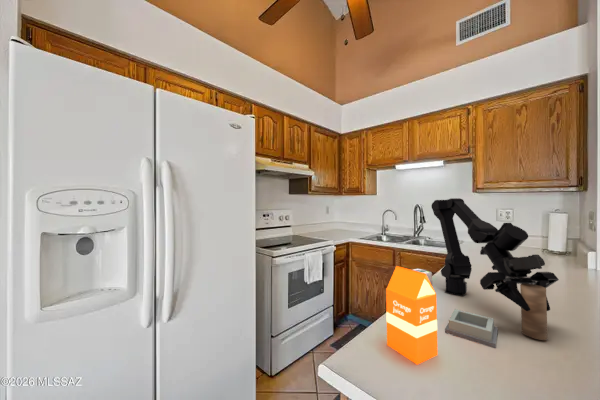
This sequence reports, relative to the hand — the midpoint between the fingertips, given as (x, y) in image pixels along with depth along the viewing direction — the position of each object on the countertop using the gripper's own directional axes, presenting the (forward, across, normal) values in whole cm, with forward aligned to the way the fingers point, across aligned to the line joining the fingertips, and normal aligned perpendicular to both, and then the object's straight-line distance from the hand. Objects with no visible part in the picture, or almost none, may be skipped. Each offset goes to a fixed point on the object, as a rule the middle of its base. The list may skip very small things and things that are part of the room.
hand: (538, 310), depth 63 cm
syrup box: (-5, -25, +16) cm, 30 cm away
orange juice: (+8, -36, +3) cm, 37 cm away
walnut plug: (+4, 0, +6) cm, 7 cm away
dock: (+2, -15, +8) cm, 17 cm away
